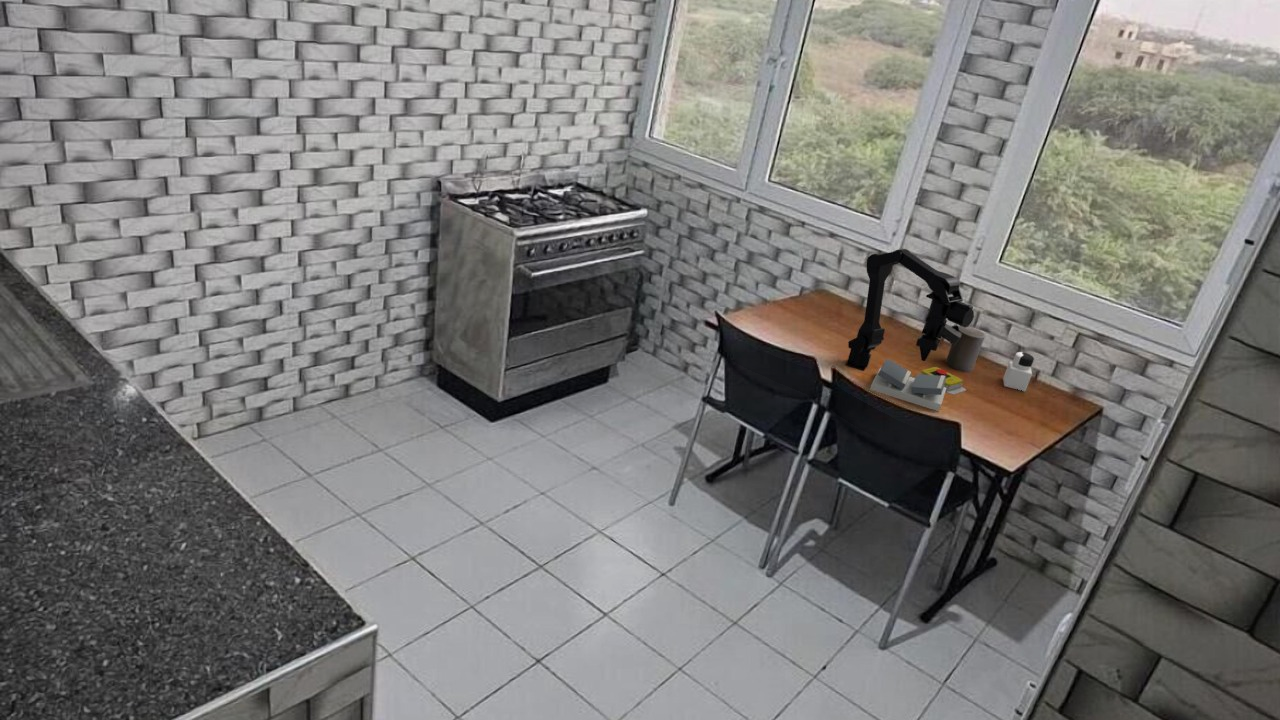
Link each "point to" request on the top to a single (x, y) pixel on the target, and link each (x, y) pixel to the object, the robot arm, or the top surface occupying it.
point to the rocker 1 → (894, 374)
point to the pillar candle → (965, 349)
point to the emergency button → (951, 383)
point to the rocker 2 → (928, 384)
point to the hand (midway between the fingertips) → (923, 360)
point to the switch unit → (907, 393)
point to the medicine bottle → (1019, 371)
